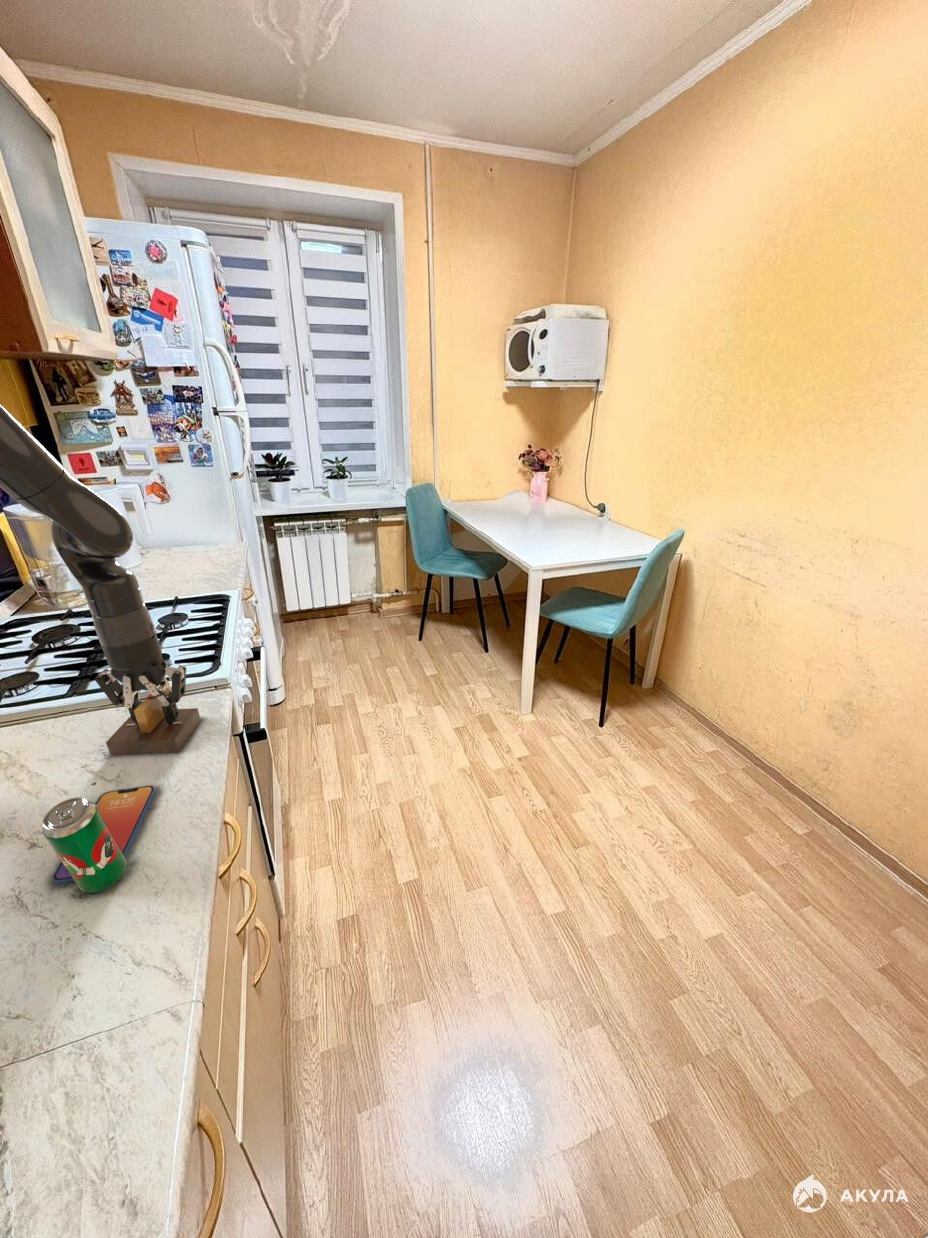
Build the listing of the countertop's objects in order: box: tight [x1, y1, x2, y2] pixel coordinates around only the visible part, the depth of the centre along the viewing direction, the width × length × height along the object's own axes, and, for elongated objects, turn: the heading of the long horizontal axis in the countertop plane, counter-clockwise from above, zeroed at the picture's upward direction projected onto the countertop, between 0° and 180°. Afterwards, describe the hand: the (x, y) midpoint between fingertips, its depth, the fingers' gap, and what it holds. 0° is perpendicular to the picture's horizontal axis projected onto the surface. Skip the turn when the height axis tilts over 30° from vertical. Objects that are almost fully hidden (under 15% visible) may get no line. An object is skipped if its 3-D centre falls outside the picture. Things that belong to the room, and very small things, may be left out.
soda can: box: [42, 796, 128, 894], centre depth 59 cm, size 5×5×12 cm
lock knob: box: [134, 693, 165, 733], centre depth 85 cm, size 5×2×5 cm, turn 1°
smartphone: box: [52, 785, 156, 885], centre depth 68 cm, size 7×15×1 cm, turn 12°
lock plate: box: [105, 707, 202, 756], centre depth 86 cm, size 11×9×3 cm
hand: (157, 721), depth 86 cm, fingers open, 4 cm apart
